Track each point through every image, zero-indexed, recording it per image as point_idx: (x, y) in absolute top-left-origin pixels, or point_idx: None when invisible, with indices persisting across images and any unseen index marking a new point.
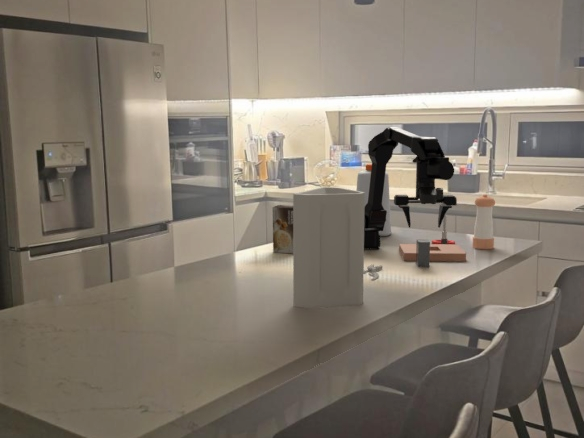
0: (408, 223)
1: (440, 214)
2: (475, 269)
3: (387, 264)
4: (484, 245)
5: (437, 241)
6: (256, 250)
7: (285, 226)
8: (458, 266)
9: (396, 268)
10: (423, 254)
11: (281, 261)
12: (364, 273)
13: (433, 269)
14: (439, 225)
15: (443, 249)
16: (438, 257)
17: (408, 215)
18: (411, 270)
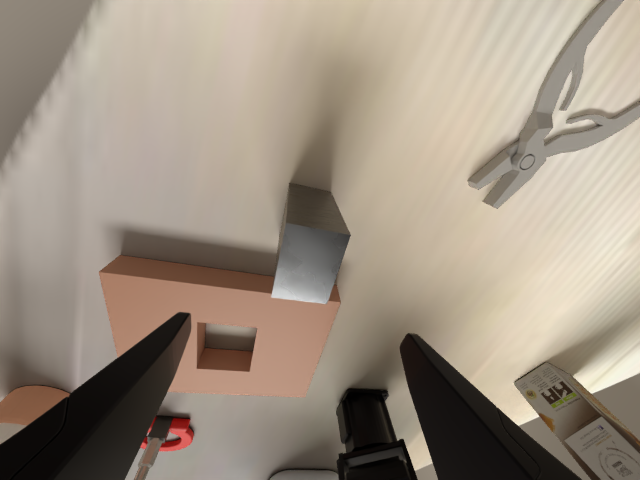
0: (439, 356)
1: (84, 455)
2: (86, 99)
3: (410, 245)
4: (29, 397)
5: (176, 441)
6: (586, 389)
7: (637, 442)
8: (164, 175)
9: (414, 184)
10: (315, 204)
11: (630, 307)
12: (571, 119)
13: (285, 140)
14: (175, 323)
15: None
16: (222, 277)
17: (503, 430)
18: (379, 140)
